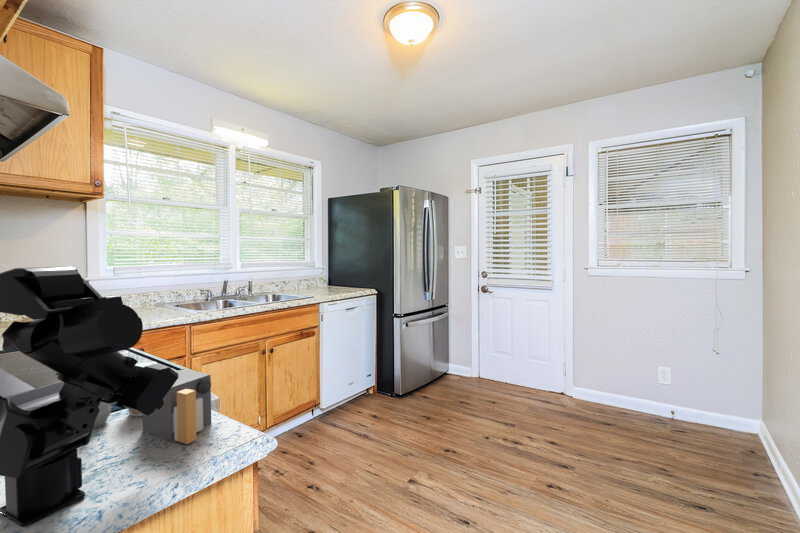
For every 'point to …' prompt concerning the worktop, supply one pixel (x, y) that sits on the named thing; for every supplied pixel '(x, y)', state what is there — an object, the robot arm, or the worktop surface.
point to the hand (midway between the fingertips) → (160, 406)
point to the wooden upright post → (187, 416)
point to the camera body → (163, 418)
